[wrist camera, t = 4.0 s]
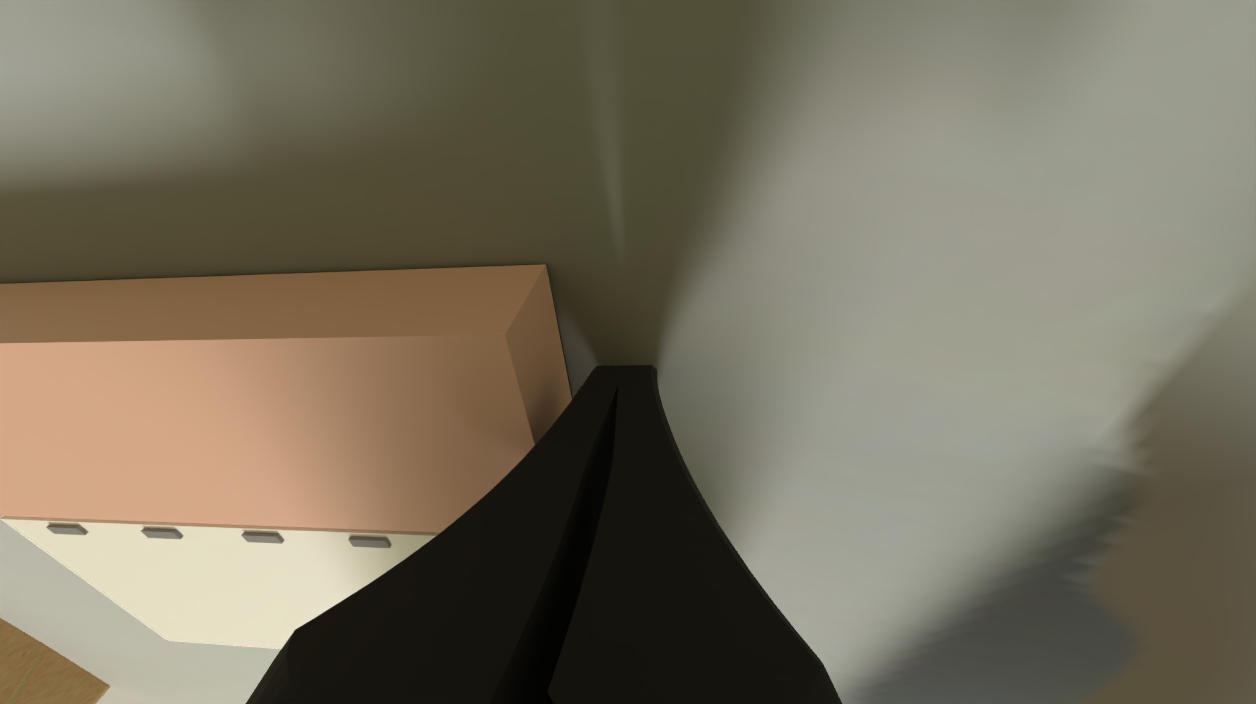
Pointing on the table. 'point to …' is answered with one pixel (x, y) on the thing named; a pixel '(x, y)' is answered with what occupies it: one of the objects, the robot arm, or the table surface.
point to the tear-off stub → (275, 395)
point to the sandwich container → (41, 673)
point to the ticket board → (220, 572)
